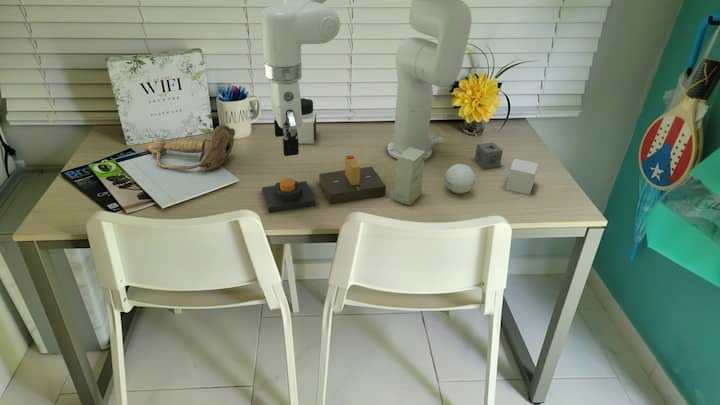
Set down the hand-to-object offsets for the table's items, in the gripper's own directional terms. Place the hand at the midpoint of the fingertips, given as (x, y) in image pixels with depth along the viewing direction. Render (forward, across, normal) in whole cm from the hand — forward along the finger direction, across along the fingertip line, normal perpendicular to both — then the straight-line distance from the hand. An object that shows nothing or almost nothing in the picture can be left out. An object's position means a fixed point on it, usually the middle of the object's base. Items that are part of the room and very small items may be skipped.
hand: (286, 145), depth 115 cm
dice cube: (+14, +3, -56) cm, 58 cm away
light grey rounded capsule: (+15, -9, -41) cm, 44 cm away
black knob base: (+15, 0, 0) cm, 15 cm away
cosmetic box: (+15, -7, -28) cm, 32 cm away
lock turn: (+11, 0, -16) cm, 20 cm away
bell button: (+11, 0, 0) cm, 11 cm away
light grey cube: (+14, -10, -58) cm, 60 cm away
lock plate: (+14, 0, -16) cm, 22 cm away
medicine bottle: (+15, +31, -11) cm, 36 cm away
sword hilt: (+15, +27, +22) cm, 38 cm away
